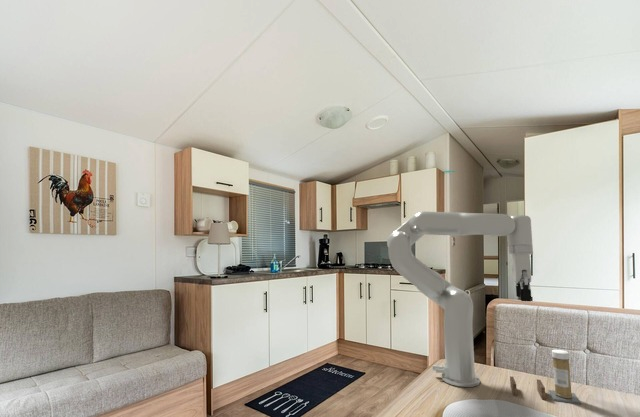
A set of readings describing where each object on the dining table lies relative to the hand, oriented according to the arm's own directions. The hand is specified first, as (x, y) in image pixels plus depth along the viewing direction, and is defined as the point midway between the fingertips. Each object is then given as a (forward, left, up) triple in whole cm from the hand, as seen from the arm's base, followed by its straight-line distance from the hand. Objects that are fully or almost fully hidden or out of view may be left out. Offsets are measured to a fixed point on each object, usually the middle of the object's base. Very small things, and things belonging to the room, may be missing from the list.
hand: (523, 298), depth 126 cm
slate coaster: (+8, -10, -28) cm, 31 cm away
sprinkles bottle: (+8, -10, -28) cm, 31 cm away
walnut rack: (-2, -10, -28) cm, 30 cm away
